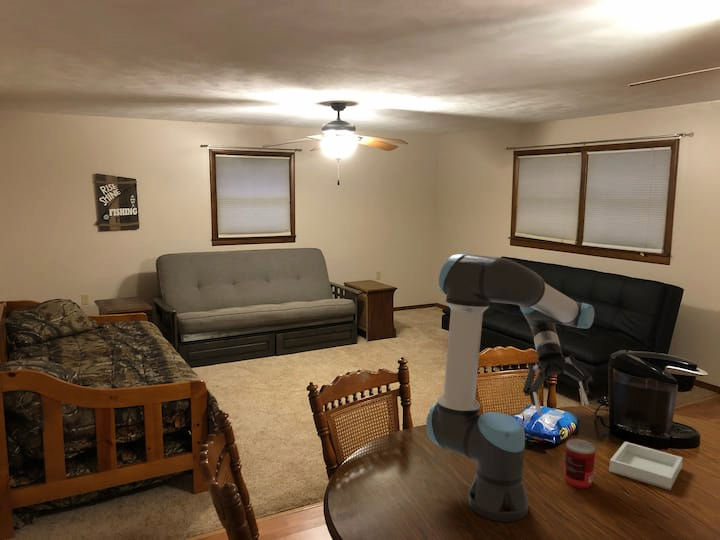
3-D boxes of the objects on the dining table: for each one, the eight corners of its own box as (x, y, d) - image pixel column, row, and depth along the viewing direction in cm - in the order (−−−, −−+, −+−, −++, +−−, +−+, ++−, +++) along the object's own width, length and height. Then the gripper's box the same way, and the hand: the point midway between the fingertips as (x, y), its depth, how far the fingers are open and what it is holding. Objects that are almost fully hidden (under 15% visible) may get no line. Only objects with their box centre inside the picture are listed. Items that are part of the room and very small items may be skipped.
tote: (670, 490, 152) (671, 478, 151) (609, 471, 162) (610, 460, 161) (681, 468, 164) (682, 457, 163) (624, 451, 174) (624, 441, 173)
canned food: (587, 475, 159) (590, 439, 158) (596, 490, 151) (599, 452, 150) (560, 473, 160) (562, 438, 158) (568, 488, 152) (570, 451, 151)
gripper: (591, 344, 172) (609, 404, 157) (513, 364, 181) (524, 423, 167) (585, 331, 167) (604, 392, 153) (506, 352, 177) (516, 411, 162)
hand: (562, 408), depth 160 cm, fingers open, 13 cm apart
